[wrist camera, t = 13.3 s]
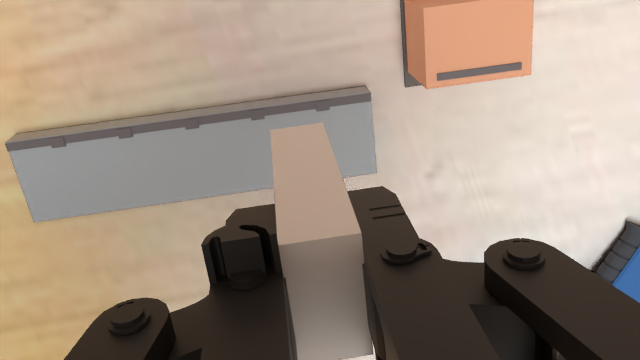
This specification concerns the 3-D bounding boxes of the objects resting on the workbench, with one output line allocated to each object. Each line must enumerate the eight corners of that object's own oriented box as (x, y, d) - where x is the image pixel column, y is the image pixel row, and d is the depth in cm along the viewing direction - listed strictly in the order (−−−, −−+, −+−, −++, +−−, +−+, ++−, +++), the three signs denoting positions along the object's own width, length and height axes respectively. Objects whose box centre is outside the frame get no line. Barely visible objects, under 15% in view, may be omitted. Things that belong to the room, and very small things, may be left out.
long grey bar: (42, 211, 38) (32, 223, 36) (15, 133, 36) (4, 143, 34) (372, 163, 39) (377, 174, 37) (365, 85, 36) (371, 93, 35)
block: (408, 71, 36) (426, 89, 32) (404, -1, 34) (423, 8, 30) (501, 59, 36) (531, 75, 32) (501, -14, 35) (534, -7, 30)
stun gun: (528, 204, 38) (452, 391, 42) (721, 252, 41) (633, 423, 45) (502, 184, 42) (435, 358, 46) (679, 230, 45) (602, 389, 49)
